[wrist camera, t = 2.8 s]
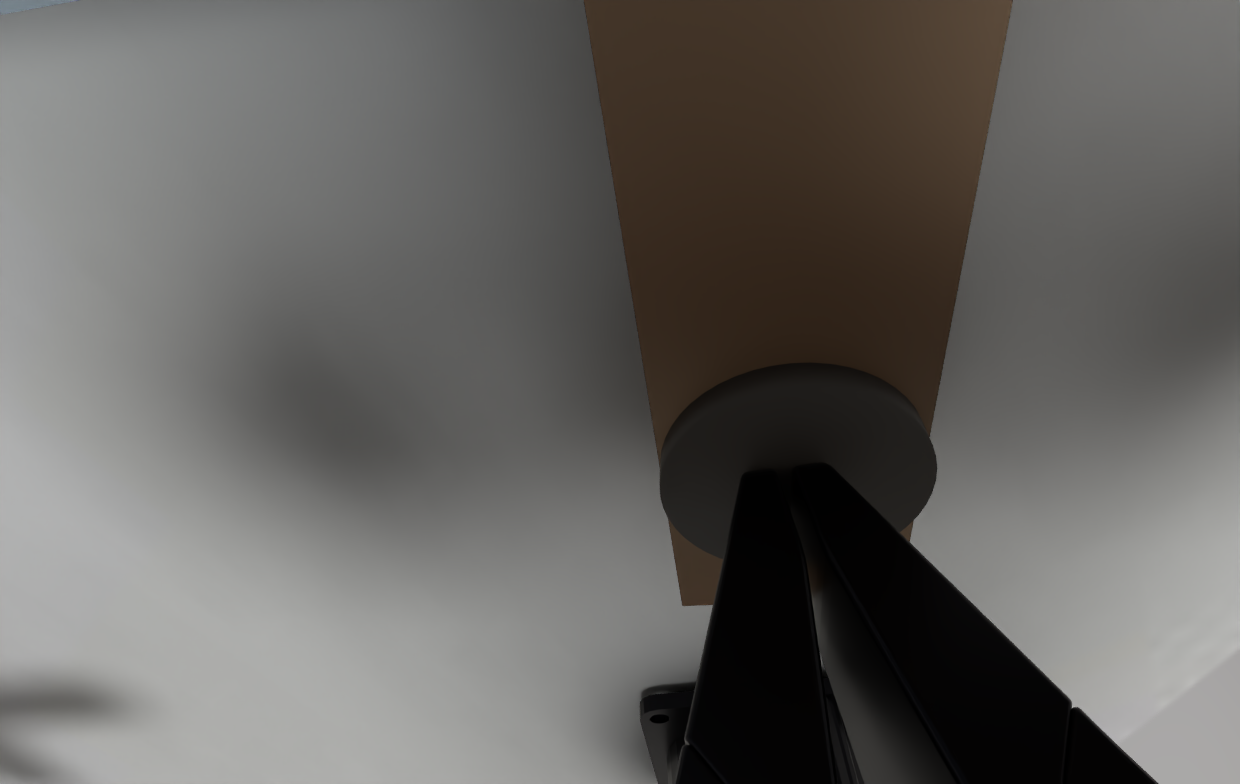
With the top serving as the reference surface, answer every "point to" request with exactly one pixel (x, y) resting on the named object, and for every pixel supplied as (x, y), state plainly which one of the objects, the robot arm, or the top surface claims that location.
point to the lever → (793, 236)
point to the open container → (26, 5)
